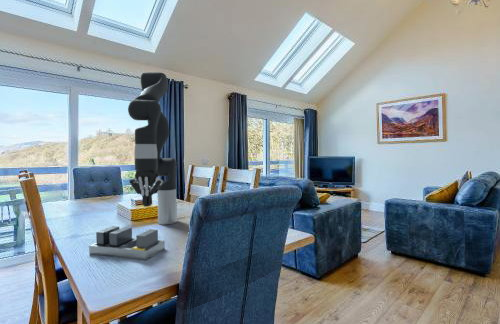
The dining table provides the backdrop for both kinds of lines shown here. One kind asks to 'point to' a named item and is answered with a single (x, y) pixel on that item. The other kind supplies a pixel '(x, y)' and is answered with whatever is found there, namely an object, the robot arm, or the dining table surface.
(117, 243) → the rack
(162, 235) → the dining table surface
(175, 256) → the dining table surface
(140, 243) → the grey block
